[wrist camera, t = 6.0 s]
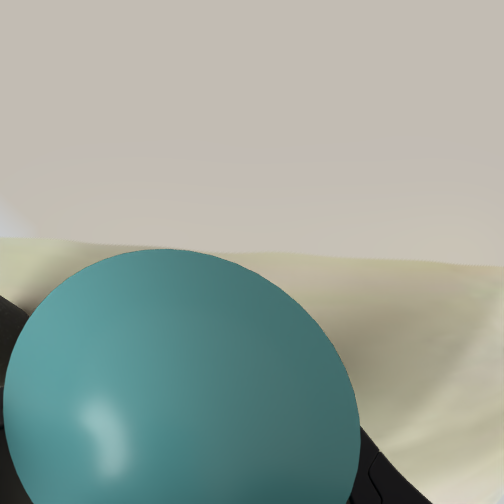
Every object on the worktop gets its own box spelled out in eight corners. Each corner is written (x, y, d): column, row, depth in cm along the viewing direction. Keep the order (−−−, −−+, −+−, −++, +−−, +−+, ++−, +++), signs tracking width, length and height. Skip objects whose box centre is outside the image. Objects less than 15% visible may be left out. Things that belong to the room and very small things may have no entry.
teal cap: (186, 468, 12) (49, 568, 2) (165, 369, 15) (2, 284, 4) (294, 448, 13) (390, 549, 2) (268, 348, 15) (295, 216, 5)
